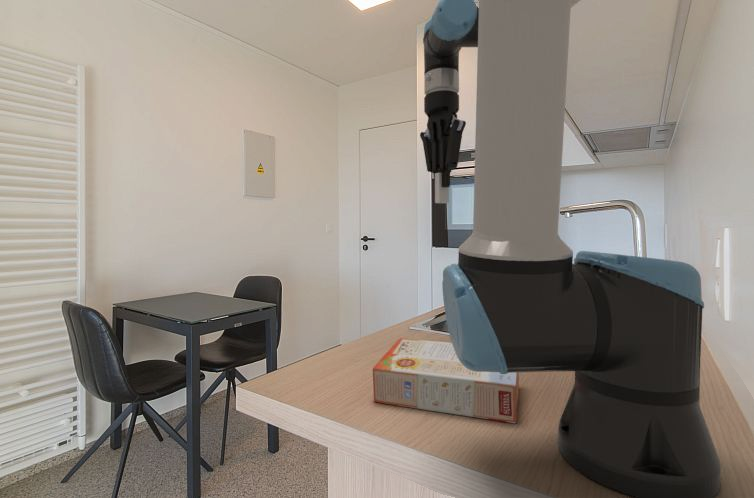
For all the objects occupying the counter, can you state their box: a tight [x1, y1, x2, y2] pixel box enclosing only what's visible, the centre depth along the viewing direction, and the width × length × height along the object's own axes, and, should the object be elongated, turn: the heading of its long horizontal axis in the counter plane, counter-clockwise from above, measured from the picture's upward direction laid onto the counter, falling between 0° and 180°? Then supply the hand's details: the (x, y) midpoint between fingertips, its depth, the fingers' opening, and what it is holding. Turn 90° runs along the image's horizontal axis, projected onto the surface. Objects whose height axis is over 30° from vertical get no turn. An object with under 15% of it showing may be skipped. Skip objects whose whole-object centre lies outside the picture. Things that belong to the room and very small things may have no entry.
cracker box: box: [372, 337, 520, 424], centre depth 63 cm, size 14×6×21 cm
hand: (441, 202), depth 87 cm, fingers closed
